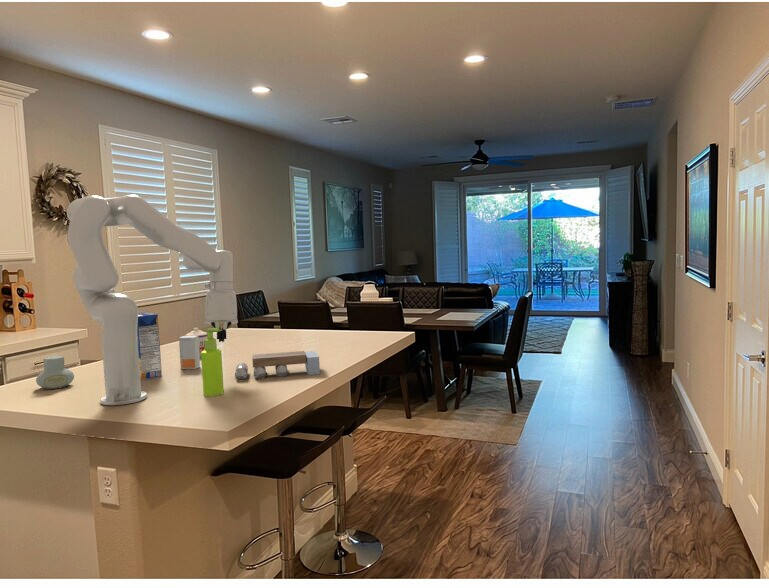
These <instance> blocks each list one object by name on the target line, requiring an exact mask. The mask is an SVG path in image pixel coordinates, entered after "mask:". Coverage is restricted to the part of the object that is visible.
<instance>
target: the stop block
mask: <svg viewBox="0 0 769 588" xmlns="http://www.w3.org/2000/svg"><path fill="white" fill-rule="evenodd" d="M304 352H305V353H306V361H307V363H306V364H304V366H305V367H304V368H305V371H306V373H307V376H313V375H315V374H316V375H321V371H320V370H321V369H320V368H321V365H320V364H321V363H320V356H319V355H318V352H317V351H316V350H311V351H304Z"/></svg>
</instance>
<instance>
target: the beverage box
mask: <svg viewBox="0 0 769 588" xmlns="http://www.w3.org/2000/svg"><path fill="white" fill-rule="evenodd" d="M137 341H138V354H139V368H140V380H141V379H144V380H147V379H148V378H149V379H154V378H160V377H163V373H162V359H161V346H160V345H161V343H160V341H161V340H160V328H159V315H158V313H150V312H138V323H137ZM149 379H148V380H149Z"/></svg>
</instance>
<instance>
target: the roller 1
mask: <svg viewBox="0 0 769 588" xmlns="http://www.w3.org/2000/svg"><path fill="white" fill-rule="evenodd" d="M248 370H249V366H248V365H247V363H244V362H240V363H238V364H237V366H236V368H235V372H234V377H235V379H236V380H237V381H238V380H243V381H245V380H247V378H248V373H249V372H248Z"/></svg>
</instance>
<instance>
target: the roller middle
mask: <svg viewBox="0 0 769 588" xmlns="http://www.w3.org/2000/svg"><path fill="white" fill-rule="evenodd" d="M266 367H267V366H266ZM266 367H253V376H254V378H255V379H256V380H263V379H265V378H266V375H267V371H266V370H267V369H266ZM262 378H263V379H262Z"/></svg>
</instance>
